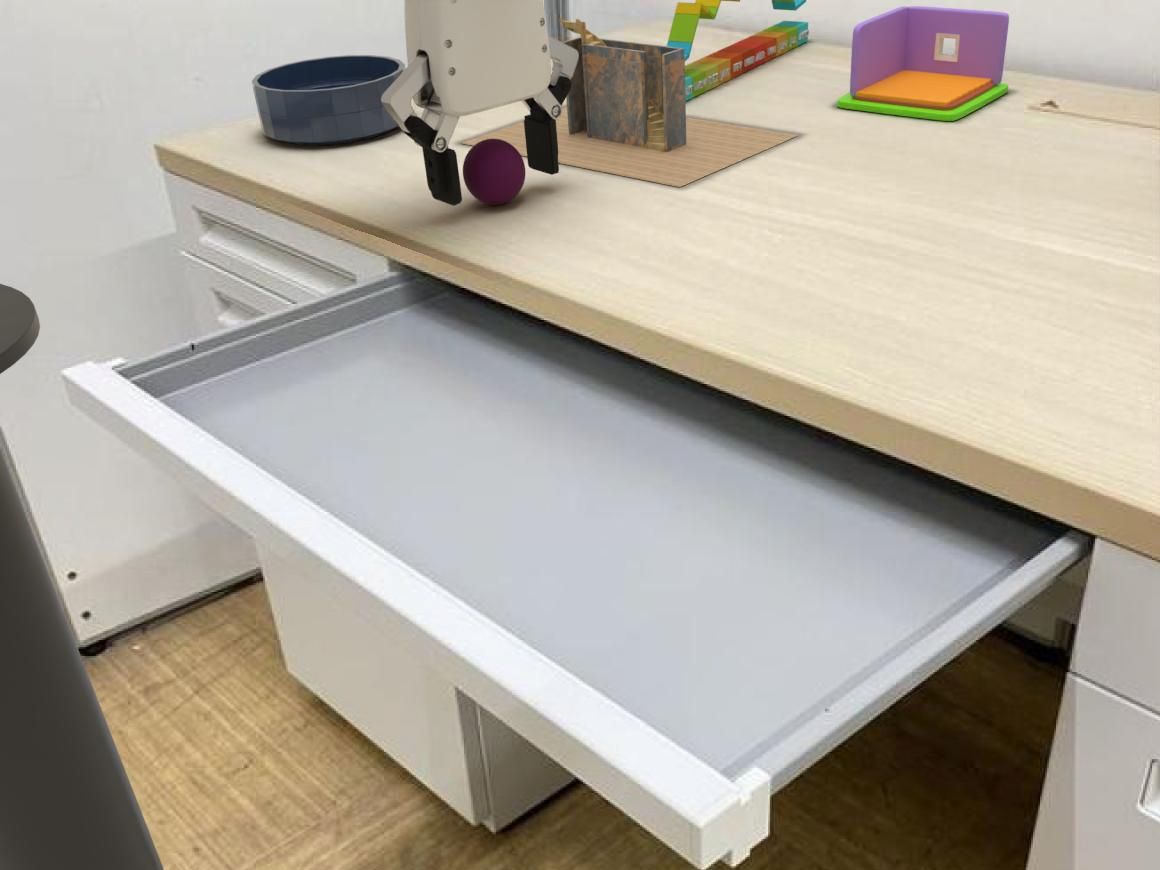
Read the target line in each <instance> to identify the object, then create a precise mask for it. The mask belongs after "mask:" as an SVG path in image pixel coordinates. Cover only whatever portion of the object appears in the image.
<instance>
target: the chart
mask: <svg viewBox="0 0 1160 870" xmlns="http://www.w3.org/2000/svg"><path fill="white" fill-rule="evenodd" d="M721 2H737V3H738V2H739V3H740V2H741V0H695V2H680V1H678V2H677V3H676V7H675V11H674V14H673V15H674V16H673V19H672V20H673V21H672V22H671V28H670V30H669V31H670V32H669V36H668V39H667V44H666V46H668V47H676V48H685V62H686V61H687V60H689V59H690V56H691V52H692V49H693V44H694V40H695V36H696V32H697V29H698V24H699V20H716V17H717V14H718V11H719V9H720V6H721ZM805 3H807V0H771V4H772V9H773V10H775V11H777V10H778V11H798V9H799V8H800V7H801V6H803V5H805ZM809 35H810V30H809V21H799V20H798V21H795V20H782V21H780V22H778V23H775V24H773V25H772V26H769V27H767V28H765V29H763V30H761V31H759V32H756V33H754V34H752V35H750V36H748V37H746V38H744V39H741V40H739V41H737V42H735V43H732V44H730V45H727V46H726V47H723V48H721V49H719V50H717V51H714V52H712V53H710V54H708V55H706V56H704V57H701V58H699V59H696V60H695V61H692V62H690V63H688V64H685V97H686V102H687V101H689V100H691V99H694V98H695V97H697V96H700V95H701V94H703V93H706V92H707V91H709V90H712V89H713V88H716V87H718V86H720V85H723V84H724V83H726V82H728V81H730V80H732V79H734V78H736V77H737V76H740V75H742V74H744V73H746V72H748V71H751V70H752V69H754V68H756V67H759V66H760V65H762V64H765V63H766V62H768V61H770V60H773V59H775V58H777V57H780V56H781V55H783V54H785V53H787V52H789V51H791V50H793V49H795V48H797V47H798V46H800V45H803V44H804V43H806V42H808V41H809Z"/></svg>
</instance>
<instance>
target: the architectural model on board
mask: <svg viewBox="0 0 1160 870" xmlns="http://www.w3.org/2000/svg"><path fill="white" fill-rule="evenodd" d="M558 21H559V23H562V28H563V29H566V30H567V31H570V32H572V33H574V34H578V35H580V36H578V37H575V38H572V39H569V40H565V41H562V42H563V43H565V44H566V45H568V46H570V47H572V48H574V49H576V50H577V51H578V53H579V58H578V61H577V65H576V68H575V71H574V74H573V77H572V78H571V89H570V91H569V93H568V95H567V97H566V98H565V100H566V106H564V107H562V115H561V117H560V118H559V119H556V129H557V141H558V164H562V165H567V166H572V167H577V168H581V169H582V168H583V169H587V170H593V171H597V172H602V173H607V174H612V175H617V176H622V177H627V178H632V179H637V180H642V181H647V182H652V183H656V184H657V183H658V184H662V185H666V186H667V185H668V186H673V187H676V188H677V187H678V188H681V187H683V186H686V185H688V184H690V183H693V182H695V181H697V180H700V179H702V178H704V177H706V176H709V175H711V174H713V173H715V172H718V171H721V170H722V169H724V168H725V169H726V168H727V167H729V166H732V165H734V164H737V163H738V162H741V161H743V160H745V159H747V158H750V157H752V156H755V155H757V154H759V153H761V152H764V151H765V150H769V149H770V148H773V147H776V146H777V145H780V144H782V143H784V142H787V141H789V140H791V139H793V138H796V137H798V136H799V135H798V134H793V133H786V132H780V131H774V130H767V129H762V128H754V127H748V126H741V125H736V124H729V123H723V122H717V121H711V120H705V119H704V120H703V119H699V118H697V119H696V118H691V117H687V106H686V105H687V103H686V102H687V101H686V97H685V66H686V61H685V48H676V47H668V46H667V45H658V44H651V43H643V42H635V41H626V40H617V39H609V38H601V37H598V36H597V35H596V34H594V33H593V32H591V31H590V30H588V29H587V26H586V25H587V24H586V21H581V20H580V19H579V18H575V21H570V20H565V19H563V18H561V17H559V19H558ZM486 139H500V140H503V141H506V142H508V143H510V144H511V145H512V146H514V147H515V148H516V149H517V151H518V152H519V153H520V155H521V156H522V157H527V149H526V139H525V129H524V121H521V122H518V123H515V124H513V125H512V124H511V125H510V126H506V127H503V128H501V129H497V130H495V131H492V132H489V133H486V134H483V135H480V136H478V137H475V138H474V137H473V138H471V139H469V140H466V141H462V142H461V144H463V145H468V146H472V147H473V146H474V145H476V144H477V143H479V142H481V141H483V140H486Z"/></svg>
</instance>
